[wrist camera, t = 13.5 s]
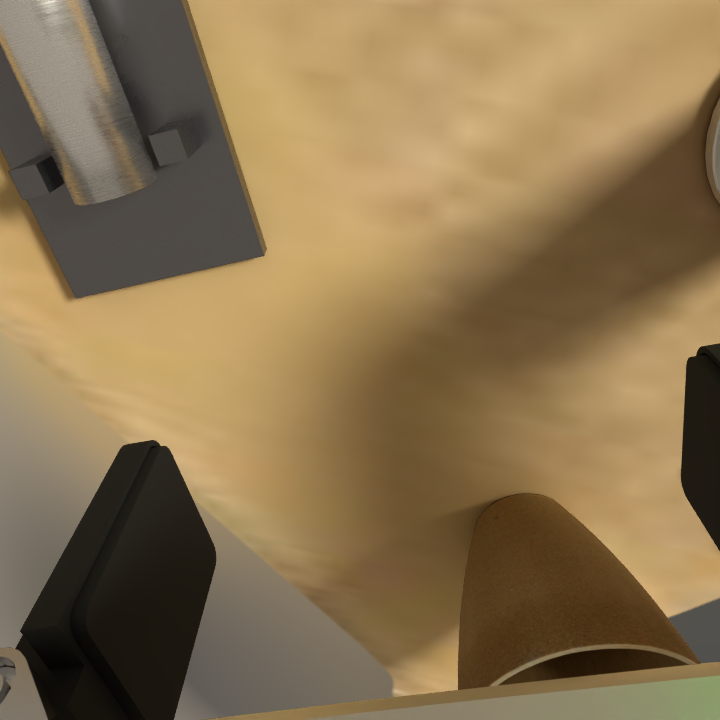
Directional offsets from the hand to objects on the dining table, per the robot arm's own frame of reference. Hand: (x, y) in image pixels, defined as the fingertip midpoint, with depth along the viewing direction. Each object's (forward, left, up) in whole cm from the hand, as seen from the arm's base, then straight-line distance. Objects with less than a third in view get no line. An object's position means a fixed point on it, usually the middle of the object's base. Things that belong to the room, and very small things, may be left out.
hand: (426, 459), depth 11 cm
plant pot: (-5, +31, -28) cm, 42 cm away
